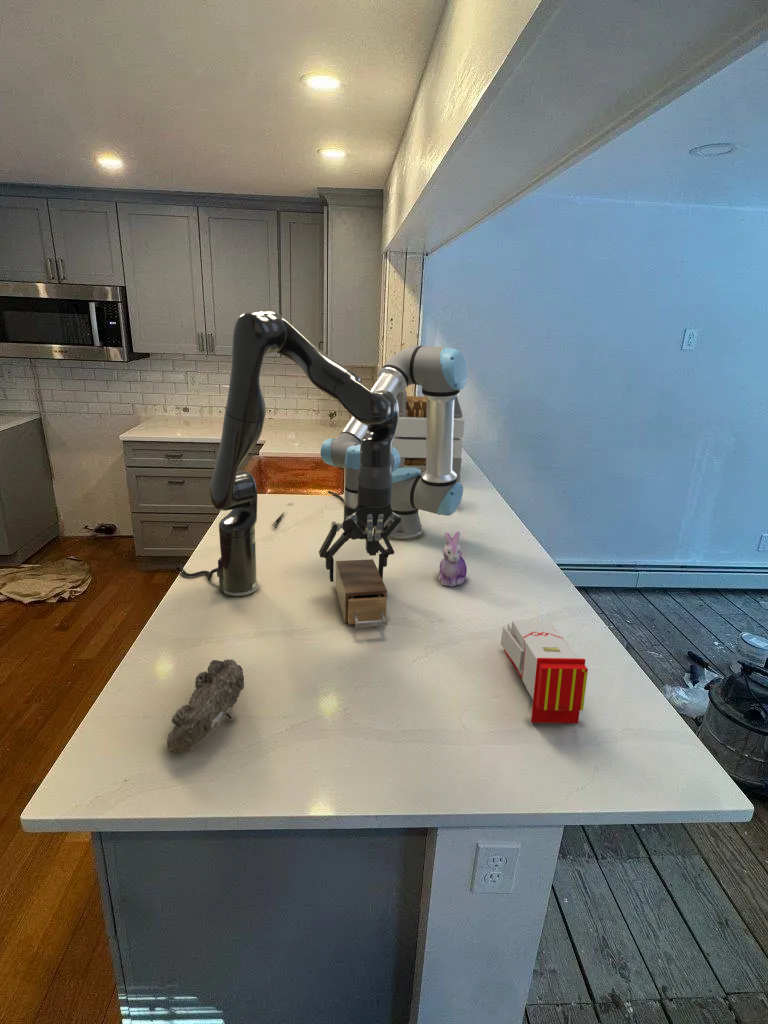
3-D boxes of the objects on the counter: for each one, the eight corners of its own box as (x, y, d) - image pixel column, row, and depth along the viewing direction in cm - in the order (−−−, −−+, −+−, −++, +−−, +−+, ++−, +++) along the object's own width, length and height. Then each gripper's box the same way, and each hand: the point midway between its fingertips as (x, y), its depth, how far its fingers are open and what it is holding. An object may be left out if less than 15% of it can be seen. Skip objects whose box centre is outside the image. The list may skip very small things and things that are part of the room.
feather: (291, 507, 225) (293, 503, 224) (273, 530, 198) (276, 526, 198) (287, 504, 224) (289, 500, 224) (269, 528, 198) (272, 523, 197)
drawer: (390, 633, 137) (391, 610, 134) (352, 636, 135) (352, 613, 133) (372, 588, 158) (373, 568, 156) (339, 591, 156) (339, 569, 154)
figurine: (448, 590, 161) (452, 541, 156) (429, 575, 169) (432, 528, 164) (475, 584, 165) (480, 536, 160) (455, 570, 173) (459, 524, 168)
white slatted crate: (382, 463, 289) (386, 382, 275) (445, 464, 293) (451, 384, 279) (390, 482, 257) (394, 392, 243) (460, 483, 261) (468, 394, 247)
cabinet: (385, 619, 144) (387, 590, 142) (344, 622, 142) (345, 593, 139) (372, 585, 162) (373, 559, 159) (335, 587, 160) (335, 560, 157)
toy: (547, 606, 135) (596, 665, 106) (541, 658, 138) (589, 729, 108) (496, 604, 134) (532, 664, 105) (492, 657, 137) (526, 729, 108)
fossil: (192, 660, 117) (244, 628, 112) (224, 691, 120) (276, 661, 115) (142, 746, 98) (202, 712, 93) (182, 779, 101) (242, 748, 96)
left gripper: (347, 488, 121) (346, 562, 126) (408, 487, 123) (403, 559, 129) (342, 478, 128) (341, 549, 133) (400, 477, 130) (396, 546, 136)
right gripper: (311, 511, 142) (311, 587, 149) (408, 508, 147) (403, 582, 154) (309, 501, 149) (309, 574, 156) (401, 499, 154) (397, 570, 161)
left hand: (372, 554), depth 131 cm, fingers closed
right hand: (356, 578), depth 155 cm, fingers open, 13 cm apart
